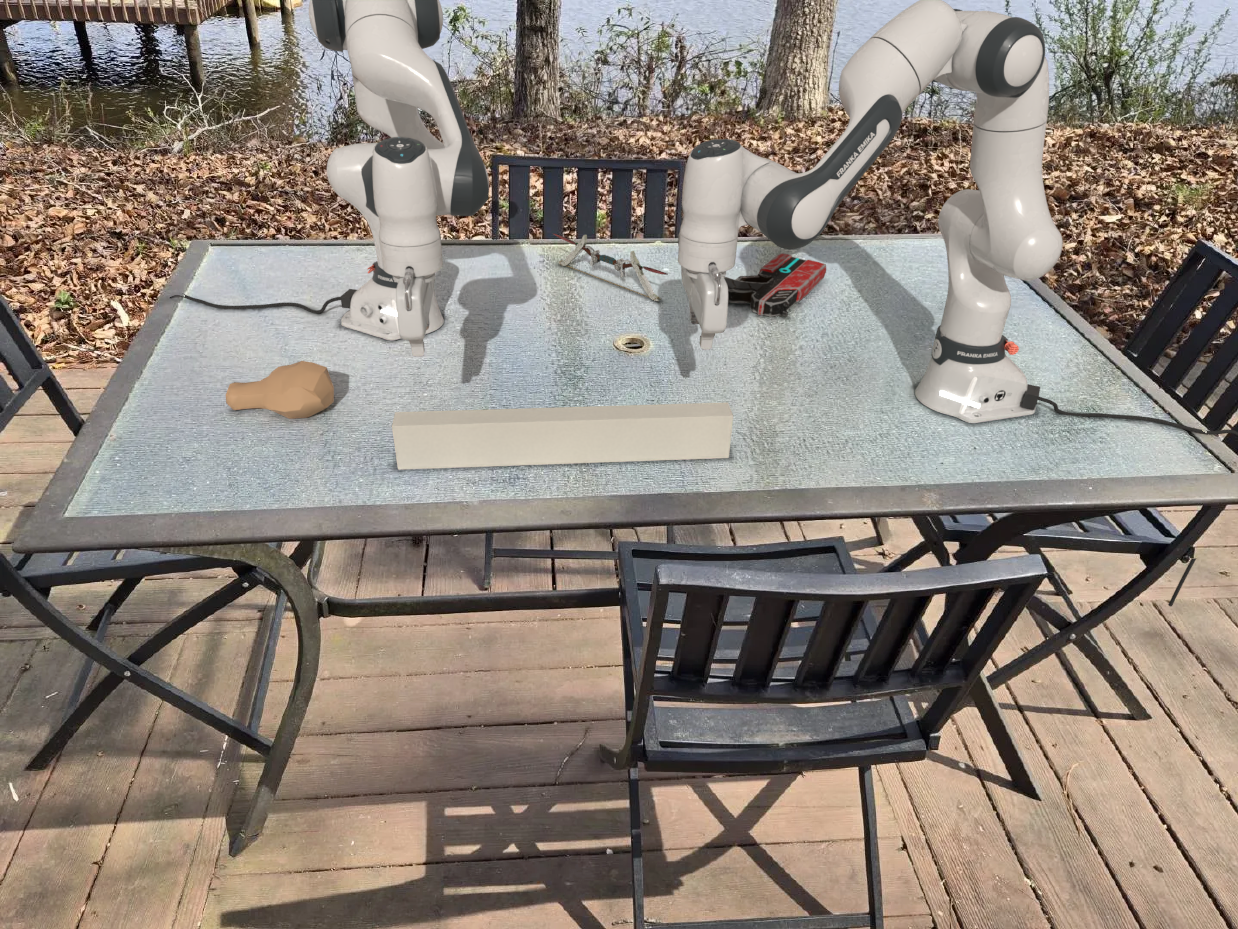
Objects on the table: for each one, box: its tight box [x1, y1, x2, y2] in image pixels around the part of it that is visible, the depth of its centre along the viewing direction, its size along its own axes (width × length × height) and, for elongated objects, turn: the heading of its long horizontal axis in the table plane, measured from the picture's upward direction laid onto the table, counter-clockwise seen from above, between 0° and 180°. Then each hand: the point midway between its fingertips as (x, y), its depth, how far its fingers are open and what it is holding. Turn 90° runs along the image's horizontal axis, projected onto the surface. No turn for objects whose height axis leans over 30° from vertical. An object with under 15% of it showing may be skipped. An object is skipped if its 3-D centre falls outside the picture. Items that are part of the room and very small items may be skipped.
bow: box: [552, 233, 669, 302], centre depth 216 cm, size 39×2×10 cm, turn 47°
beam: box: [391, 401, 734, 471], centre depth 150 cm, size 57×5×9 cm, turn 96°
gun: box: [724, 252, 827, 318], centre depth 215 cm, size 4×31×19 cm
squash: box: [225, 360, 335, 420], centre depth 161 cm, size 11×20×9 cm, turn 90°
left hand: (421, 340), depth 137 cm, fingers open, 8 cm apart
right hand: (700, 334), depth 142 cm, fingers open, 8 cm apart
